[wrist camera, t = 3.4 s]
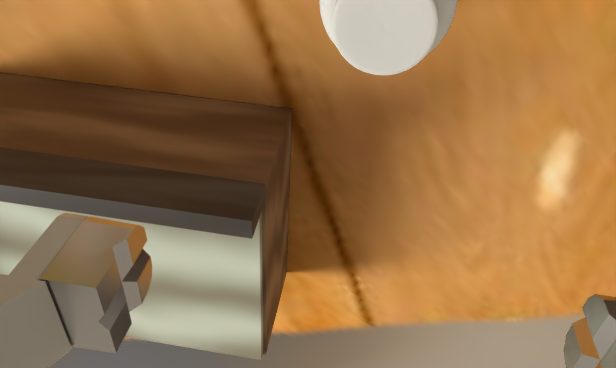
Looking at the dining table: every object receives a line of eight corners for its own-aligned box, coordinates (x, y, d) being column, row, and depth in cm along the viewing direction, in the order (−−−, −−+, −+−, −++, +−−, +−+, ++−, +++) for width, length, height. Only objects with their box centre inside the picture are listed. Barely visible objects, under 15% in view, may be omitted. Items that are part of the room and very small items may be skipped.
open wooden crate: (-20, 70, 35) (-157, 161, 27) (292, 108, 33) (251, 221, 25) (43, 235, 45) (-42, 340, 37) (286, 272, 43) (256, 392, 35)
